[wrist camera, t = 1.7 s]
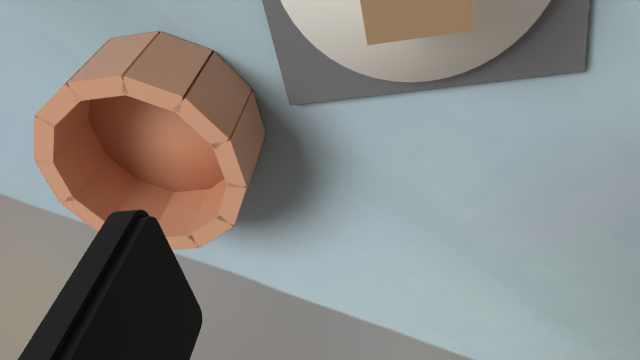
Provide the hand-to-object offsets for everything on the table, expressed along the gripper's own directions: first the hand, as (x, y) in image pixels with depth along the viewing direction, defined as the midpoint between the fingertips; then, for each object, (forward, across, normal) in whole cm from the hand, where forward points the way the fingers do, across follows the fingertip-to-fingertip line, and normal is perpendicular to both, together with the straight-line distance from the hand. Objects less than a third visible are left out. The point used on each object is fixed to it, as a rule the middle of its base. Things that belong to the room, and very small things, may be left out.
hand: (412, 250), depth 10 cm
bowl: (+20, +15, +8) cm, 26 cm away
